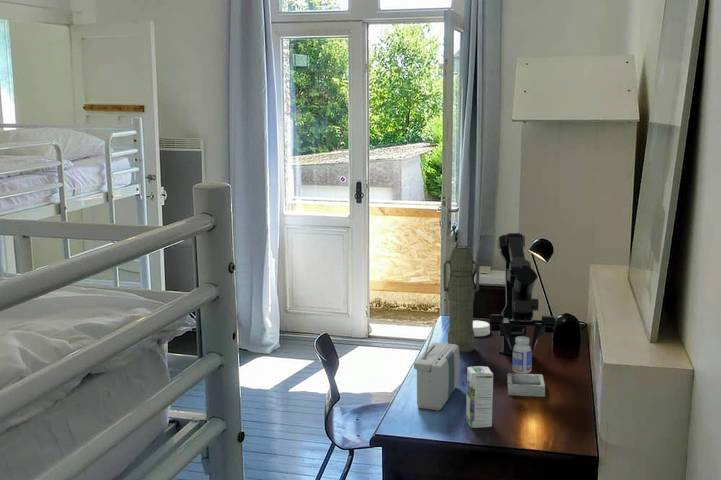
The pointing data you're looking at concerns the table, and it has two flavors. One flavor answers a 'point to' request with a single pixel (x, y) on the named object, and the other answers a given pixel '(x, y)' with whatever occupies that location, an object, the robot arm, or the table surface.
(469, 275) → the thermos
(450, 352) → the stereo radio cassette player
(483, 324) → the white round tub
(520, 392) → the housing
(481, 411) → the syrup box
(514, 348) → the pill bottle
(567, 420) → the table surface
